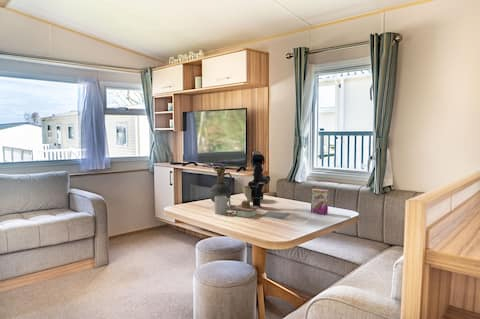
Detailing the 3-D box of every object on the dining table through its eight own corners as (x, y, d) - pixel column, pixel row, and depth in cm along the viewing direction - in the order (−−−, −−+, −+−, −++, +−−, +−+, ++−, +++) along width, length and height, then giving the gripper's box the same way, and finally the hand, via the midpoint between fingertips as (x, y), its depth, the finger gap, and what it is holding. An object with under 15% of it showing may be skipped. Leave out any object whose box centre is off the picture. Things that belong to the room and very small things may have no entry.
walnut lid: (241, 205, 239) (241, 198, 238) (259, 207, 232) (259, 200, 232) (231, 209, 226) (231, 202, 226) (250, 212, 220) (251, 204, 220)
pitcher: (207, 206, 254) (207, 165, 252) (226, 202, 268) (226, 164, 265) (217, 208, 247) (217, 167, 244) (236, 204, 260) (236, 165, 258)
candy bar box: (310, 213, 236) (311, 189, 235) (311, 211, 241) (312, 188, 239) (327, 214, 232) (328, 190, 231) (328, 213, 237) (328, 189, 236)
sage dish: (241, 212, 238) (241, 205, 238) (258, 214, 233) (258, 207, 232) (232, 216, 227) (232, 209, 226) (250, 218, 221) (250, 211, 221)
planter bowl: (240, 198, 284) (240, 185, 283) (259, 197, 287) (259, 185, 287) (245, 202, 268) (245, 188, 267) (265, 201, 272) (265, 188, 271)
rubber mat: (268, 211, 239) (268, 211, 239) (290, 214, 232) (290, 213, 232) (259, 216, 225) (259, 216, 225) (282, 220, 218) (282, 219, 218)
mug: (218, 214, 230) (218, 198, 229) (212, 212, 236) (212, 196, 235) (233, 212, 237) (233, 196, 236) (226, 210, 243) (226, 194, 242)
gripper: (263, 174, 225) (263, 198, 226) (273, 171, 241) (273, 193, 243) (247, 173, 230) (247, 196, 231) (259, 170, 246) (258, 192, 248)
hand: (257, 194), depth 238 cm, fingers open, 9 cm apart
